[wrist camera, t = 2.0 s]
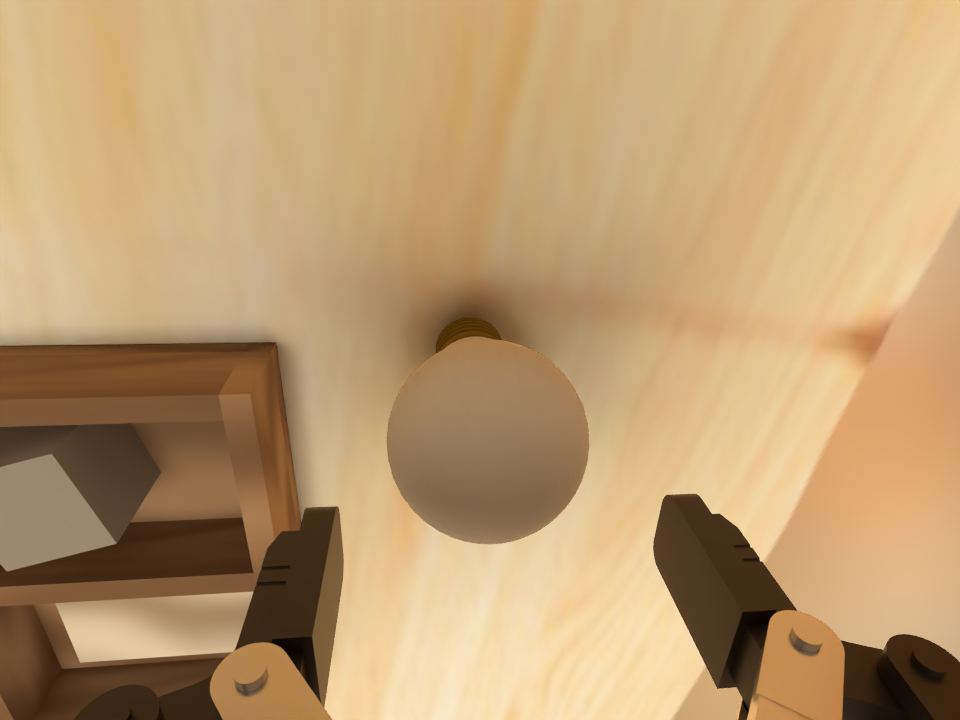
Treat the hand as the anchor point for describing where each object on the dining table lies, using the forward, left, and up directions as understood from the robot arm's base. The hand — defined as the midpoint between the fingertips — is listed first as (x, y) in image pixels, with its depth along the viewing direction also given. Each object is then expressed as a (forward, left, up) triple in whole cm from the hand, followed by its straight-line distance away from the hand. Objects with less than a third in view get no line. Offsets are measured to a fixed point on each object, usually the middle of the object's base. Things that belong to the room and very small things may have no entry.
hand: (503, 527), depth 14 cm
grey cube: (+4, -15, -10) cm, 18 cm away
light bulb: (0, 0, -11) cm, 11 cm away
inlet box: (+9, -14, -10) cm, 19 cm away
